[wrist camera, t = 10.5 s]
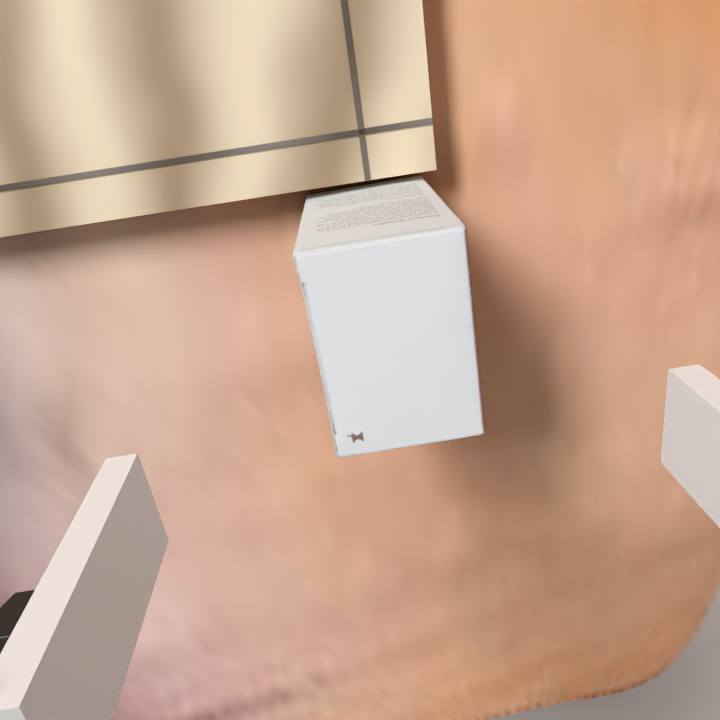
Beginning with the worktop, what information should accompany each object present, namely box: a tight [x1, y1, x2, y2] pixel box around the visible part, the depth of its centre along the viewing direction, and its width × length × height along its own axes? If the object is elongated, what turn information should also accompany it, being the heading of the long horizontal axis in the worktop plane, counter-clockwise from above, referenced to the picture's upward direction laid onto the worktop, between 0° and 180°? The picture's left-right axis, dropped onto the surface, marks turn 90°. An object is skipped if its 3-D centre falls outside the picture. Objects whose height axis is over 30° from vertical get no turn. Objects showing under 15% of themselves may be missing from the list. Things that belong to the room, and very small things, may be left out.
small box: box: [293, 176, 485, 458], centre depth 25 cm, size 8×6×10 cm
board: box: [0, 0, 437, 237], centre depth 25 cm, size 22×12×2 cm, turn 98°
